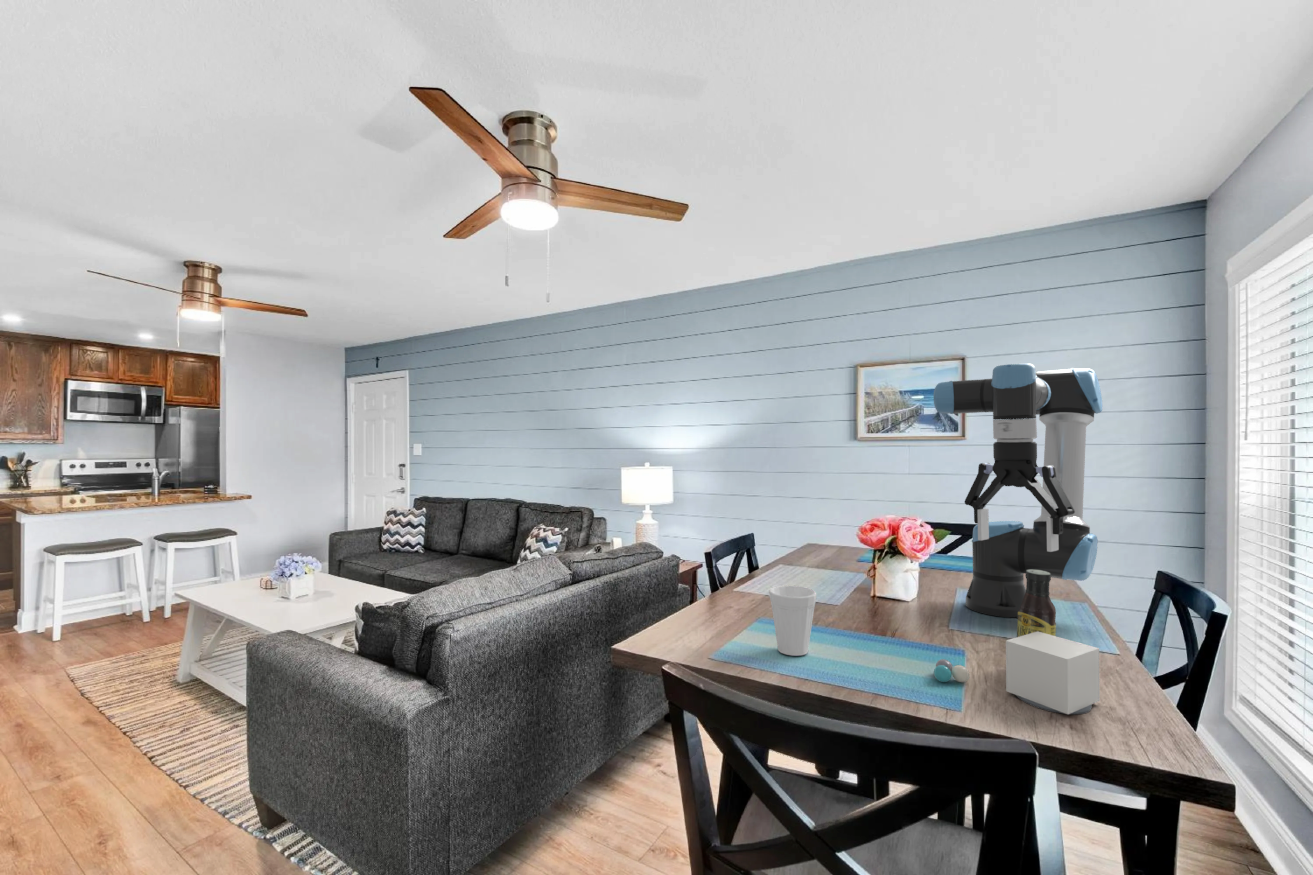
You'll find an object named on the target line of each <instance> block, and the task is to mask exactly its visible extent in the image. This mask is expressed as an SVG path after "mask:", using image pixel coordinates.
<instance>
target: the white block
mask: <svg viewBox="0 0 1313 875" xmlns="http://www.w3.org/2000/svg"><path fill="white" fill-rule="evenodd" d="M1100 683H1101V682H1100V648H1099V647H1095V646H1092V645H1089V644H1085V643H1081V642H1077V641H1075V640H1071V639H1067V638H1063V637H1059V636H1053V635H1049V634H1046V633H1042V632H1038V631H1037V632H1033V633H1030V634H1027V635H1023V636H1020V637H1017V636H1016V637H1014V638H1010V639H1006V640H1005V687H1006V688H1005V692H1007V693H1010V694H1013V695H1015V696H1016V695H1018V696H1021V697H1023V698H1026V699H1028V700H1031V701H1034V702H1036V703H1039V704H1042V705H1044V706H1047V707H1050V708H1052V709H1055V710H1057V711H1060V712H1063V713H1065V715H1071V714H1070V713H1073V712H1075V711H1077V710H1080V709H1082V708H1084V707H1087V706H1089V705H1091V704H1092V705H1094V704H1095V703H1098V702H1100V700H1101V698H1100V696H1101V695H1100V693H1101V692H1100V690H1101V689H1100V687H1101V686H1100Z"/></svg>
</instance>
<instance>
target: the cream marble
mask: <svg viewBox="0 0 1313 875" xmlns="http://www.w3.org/2000/svg"><path fill="white" fill-rule="evenodd" d="M951 673H952V676H951V677H952V678H953V679H954V680H955V681H956V682H959V683H966V682H968V680H969V679H970V672H969V670H968V668H967V667H965V666H963V665H962V664H959V665H958V664H957V665H954V666H953V668H952V672H951Z"/></svg>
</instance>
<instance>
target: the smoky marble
mask: <svg viewBox="0 0 1313 875" xmlns="http://www.w3.org/2000/svg"><path fill="white" fill-rule="evenodd" d="M938 665H944V666H946V667H948V668H949V669H950V671H951V672H952V668H953V667H954V666H953V664H952V663H951V662H950V661H949V660H947V659H944V658H943V659H939V660H937V662H936V664H935V667H937V666H938ZM951 674H952V673H951Z"/></svg>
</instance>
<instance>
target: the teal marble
mask: <svg viewBox="0 0 1313 875" xmlns="http://www.w3.org/2000/svg"><path fill="white" fill-rule="evenodd" d="M933 675H934V677H935V679H936V680H937V681H939V682H941V683H947V682H950V680H951V679H952V677H953V676H952V674H951V671H950V669H949V668H948V667H946V666H944V665H938V666H937V667H936V666H935V668H934V671H933Z"/></svg>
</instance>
